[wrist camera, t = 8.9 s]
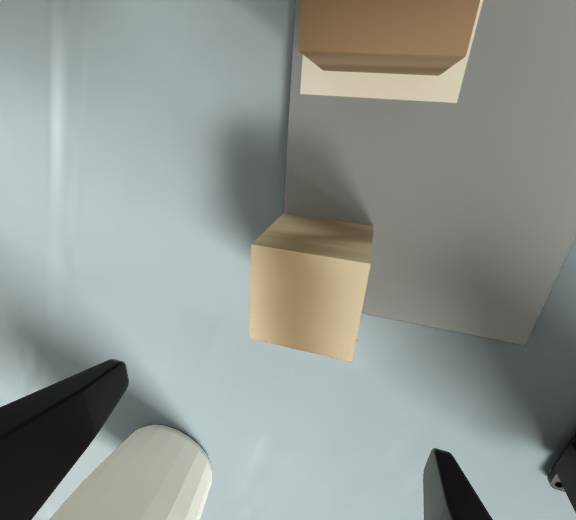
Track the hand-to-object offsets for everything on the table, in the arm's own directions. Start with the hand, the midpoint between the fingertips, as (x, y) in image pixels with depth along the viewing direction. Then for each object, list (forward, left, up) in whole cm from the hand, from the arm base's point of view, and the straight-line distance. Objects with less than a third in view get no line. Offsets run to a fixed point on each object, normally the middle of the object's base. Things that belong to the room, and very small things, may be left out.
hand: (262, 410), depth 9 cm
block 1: (0, 0, -11) cm, 11 cm away
